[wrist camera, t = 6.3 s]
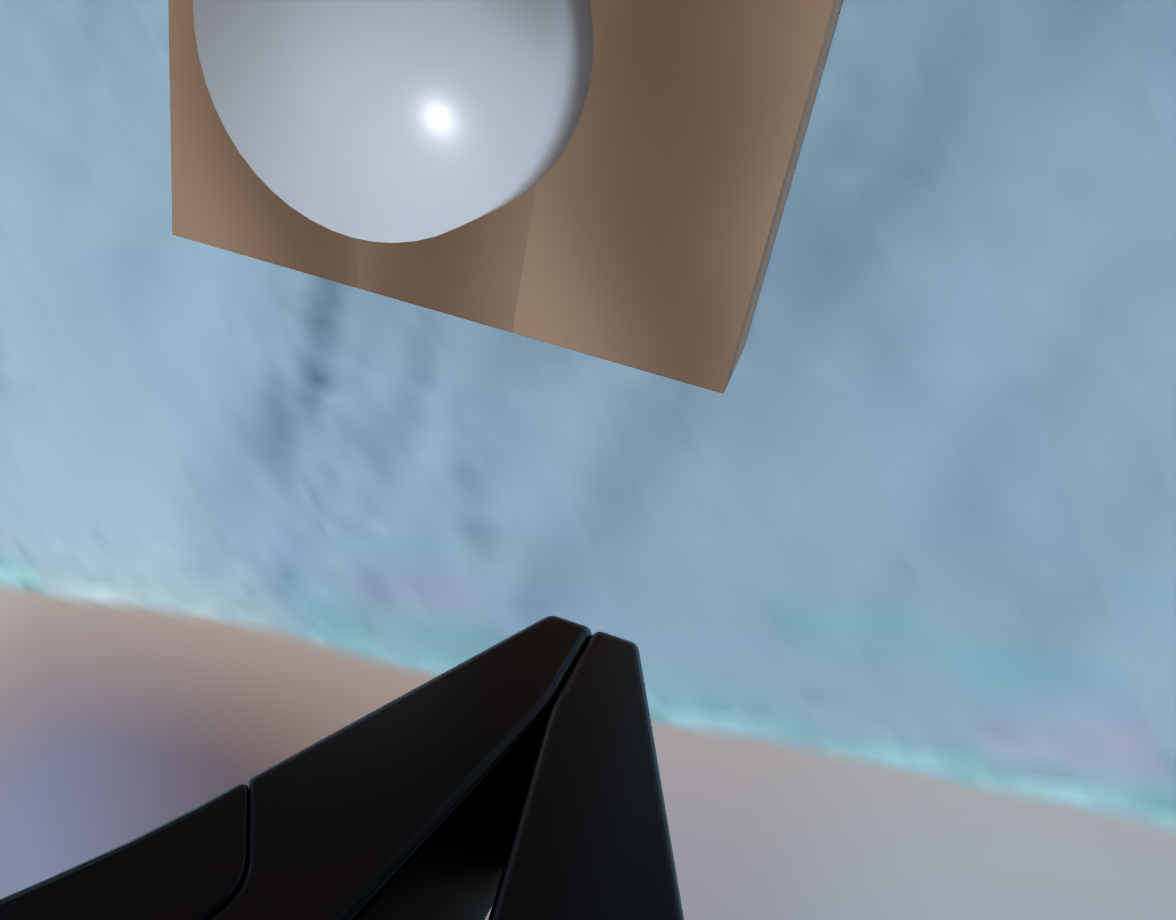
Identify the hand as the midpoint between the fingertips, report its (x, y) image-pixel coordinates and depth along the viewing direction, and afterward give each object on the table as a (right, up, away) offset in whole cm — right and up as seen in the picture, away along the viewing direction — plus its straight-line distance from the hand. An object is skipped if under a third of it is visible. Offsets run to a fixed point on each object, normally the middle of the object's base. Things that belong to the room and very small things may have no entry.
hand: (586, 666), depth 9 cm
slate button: (-2, +10, +9) cm, 13 cm away
